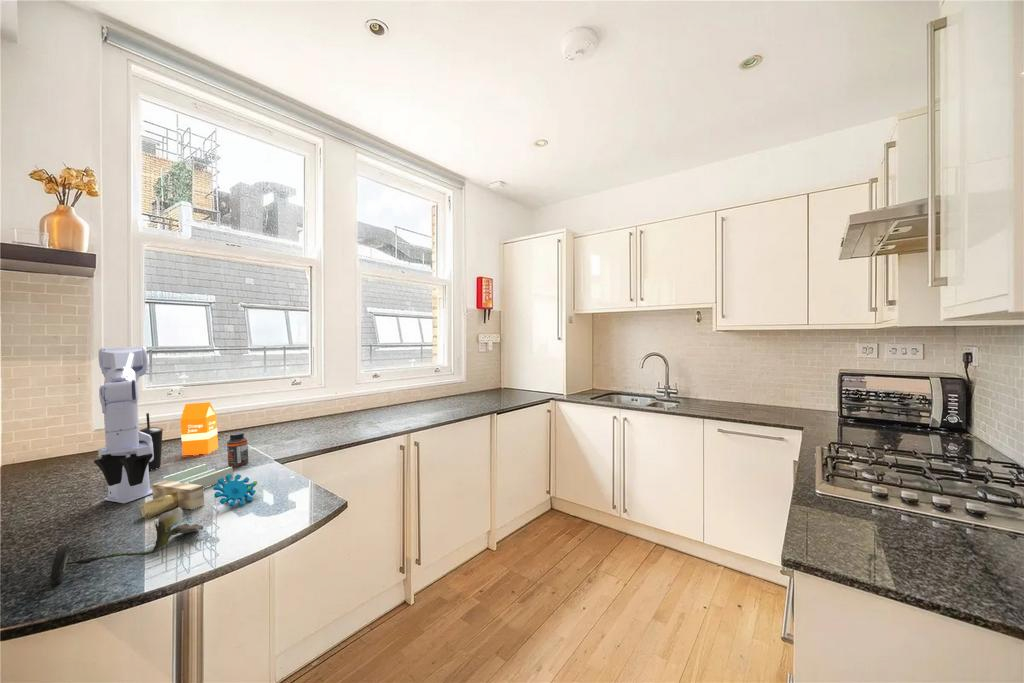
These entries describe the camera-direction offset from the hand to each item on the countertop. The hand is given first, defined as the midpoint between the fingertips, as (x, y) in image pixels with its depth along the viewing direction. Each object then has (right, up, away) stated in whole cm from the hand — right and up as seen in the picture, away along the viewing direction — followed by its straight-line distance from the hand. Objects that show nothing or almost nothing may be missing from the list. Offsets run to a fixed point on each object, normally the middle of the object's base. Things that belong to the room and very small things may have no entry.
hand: (125, 484), depth 94 cm
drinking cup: (-33, -10, +41) cm, 53 cm away
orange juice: (-30, -10, +59) cm, 67 cm away
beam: (+4, -10, +11) cm, 15 cm away
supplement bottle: (-3, -9, +43) cm, 44 cm away
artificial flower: (+15, -10, -13) cm, 23 cm away
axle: (+3, -8, +9) cm, 13 cm away
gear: (+20, -9, +11) cm, 25 cm away
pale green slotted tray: (-3, -9, +26) cm, 28 cm away
